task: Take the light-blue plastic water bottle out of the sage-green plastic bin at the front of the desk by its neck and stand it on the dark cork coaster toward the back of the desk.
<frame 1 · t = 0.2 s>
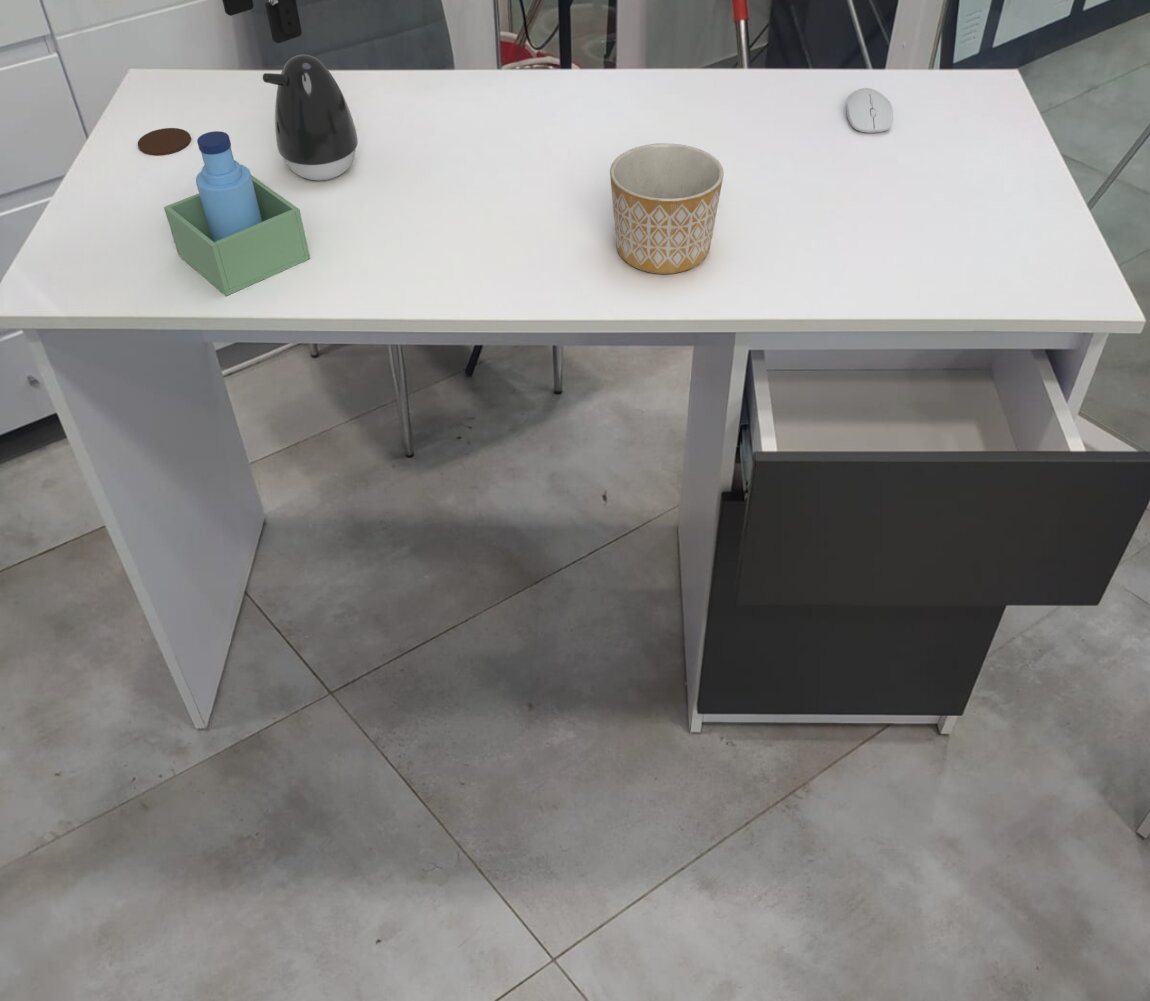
hand: (263, 25, 118), 25 cm above the table, tool pointing down, fingers open, 9 cm apart
bottle: (243, 253, 131), point 1 cm above the table, touching bin
pump dispenser: (322, 172, 146), on the table
computer mouse: (866, 120, 154), on the table
planter: (662, 252, 131), on the table
bin: (244, 257, 132), on the table
coaster: (164, 142, 152), on the table
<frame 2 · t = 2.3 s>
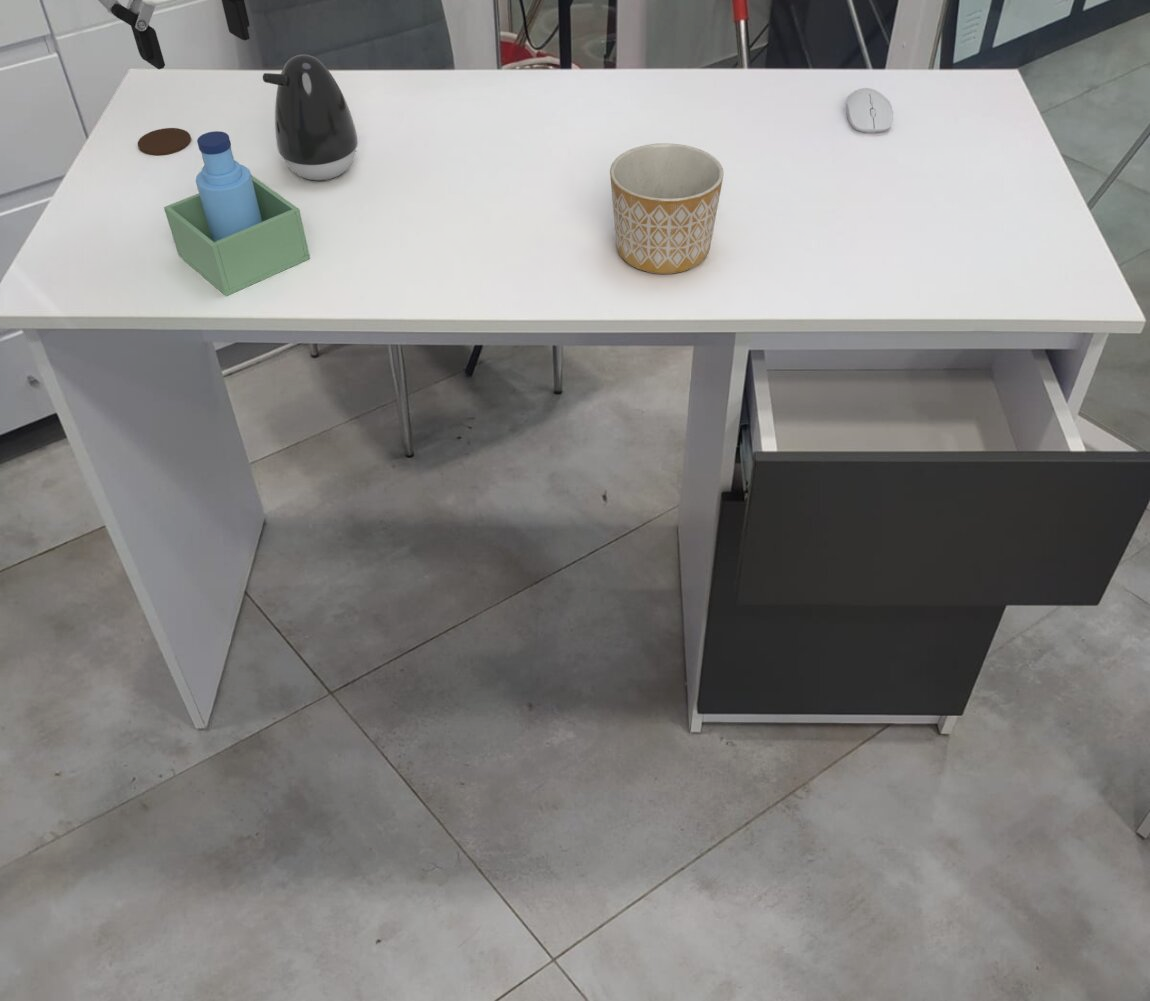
hand: (198, 50, 115), 25 cm above the table, tool pointing down, fingers open, 9 cm apart
nothing on the table moved.
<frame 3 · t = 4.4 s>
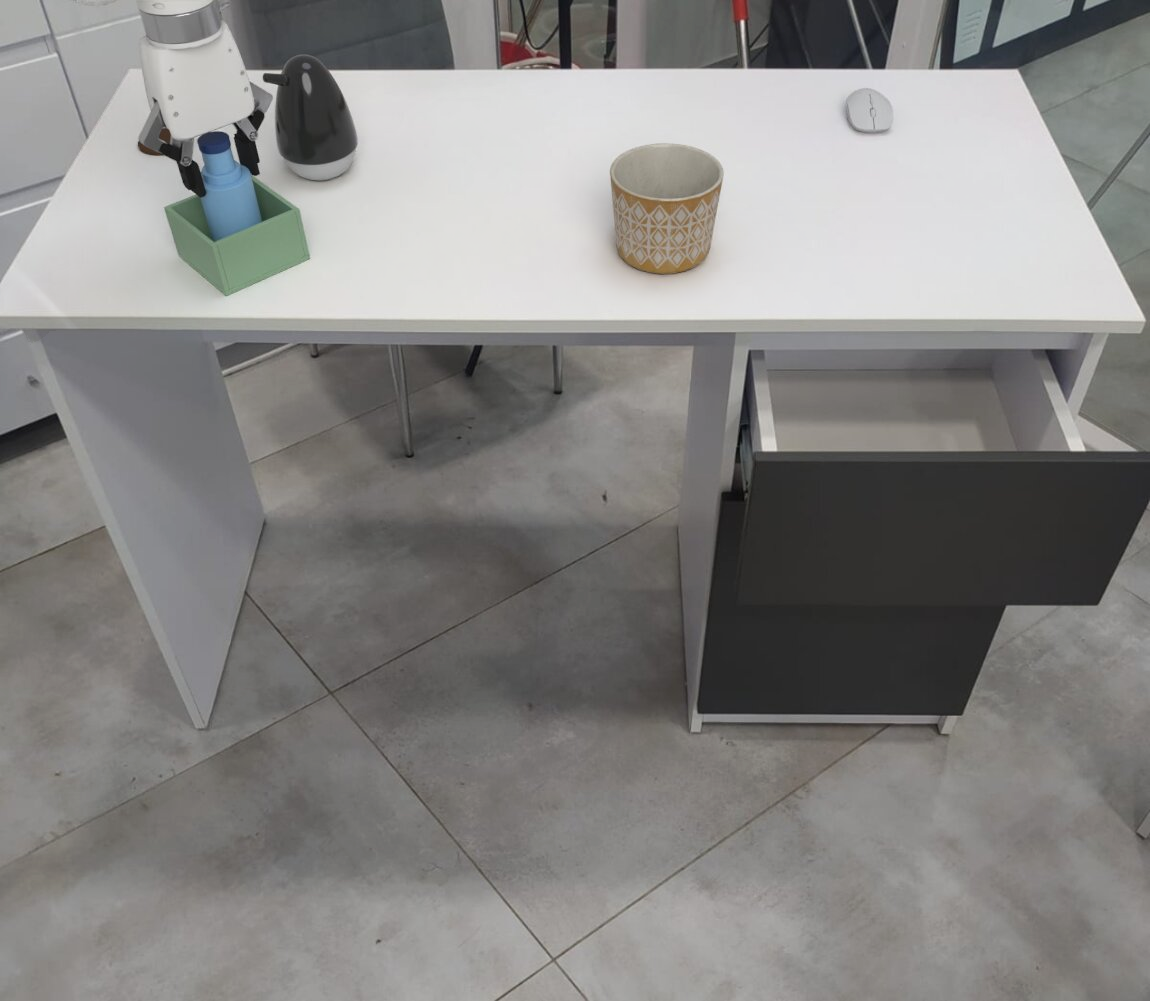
hand: (224, 180, 125), 10 cm above the table, tool pointing down, fingers closed on bottle, 6 cm apart
bottle: (243, 253, 131), point 1 cm above the table, touching bin, gripper
everything else where it was.
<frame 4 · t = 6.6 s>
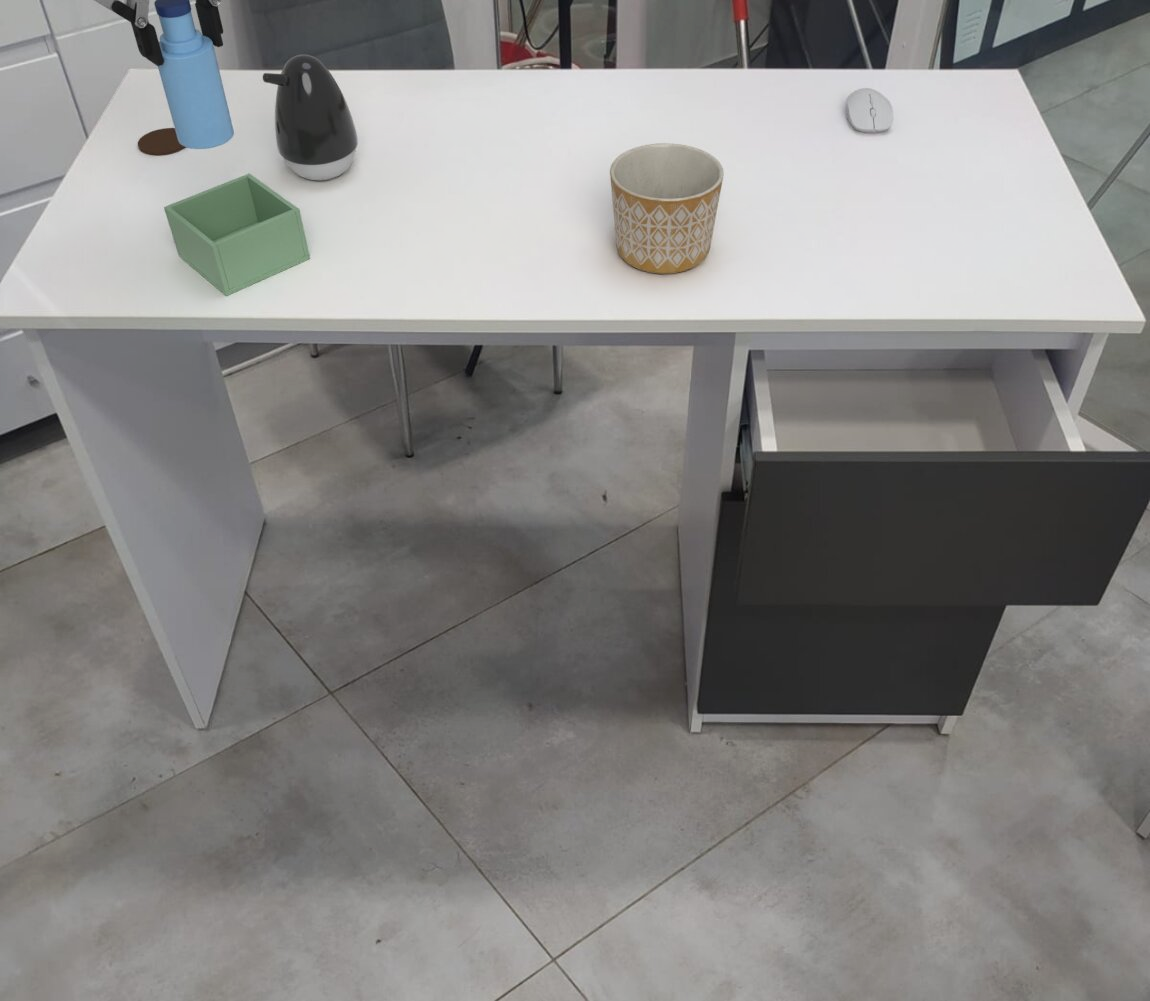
hand: (184, 50, 115), 24 cm above the table, tool pointing down, fingers closed on bottle, 6 cm apart
bottle: (206, 136, 122), point 15 cm above the table, touching gripper
everything else where it was.
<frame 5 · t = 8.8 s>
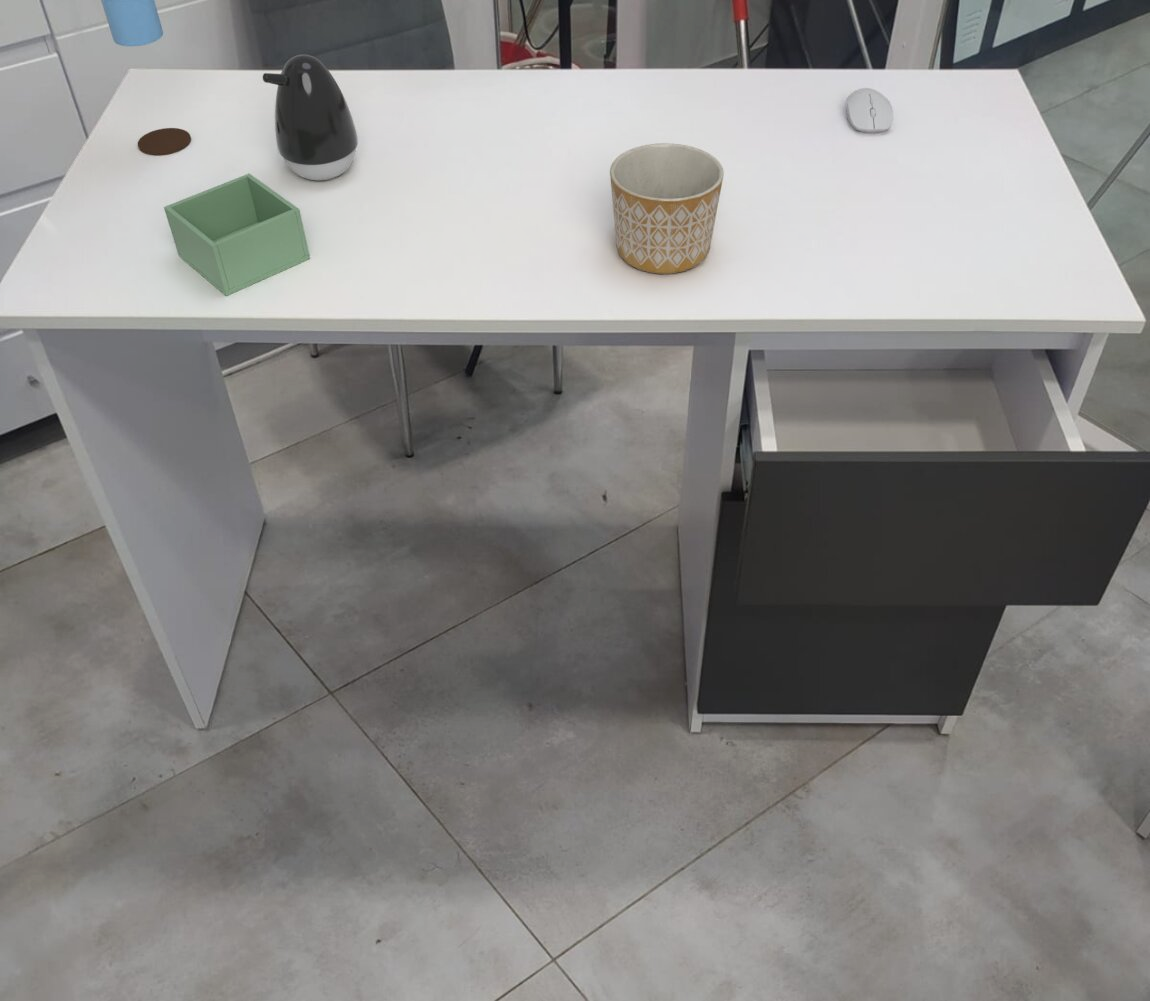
bottle: (138, 36, 138), point 16 cm above the table, touching gripper
everything else where it was.
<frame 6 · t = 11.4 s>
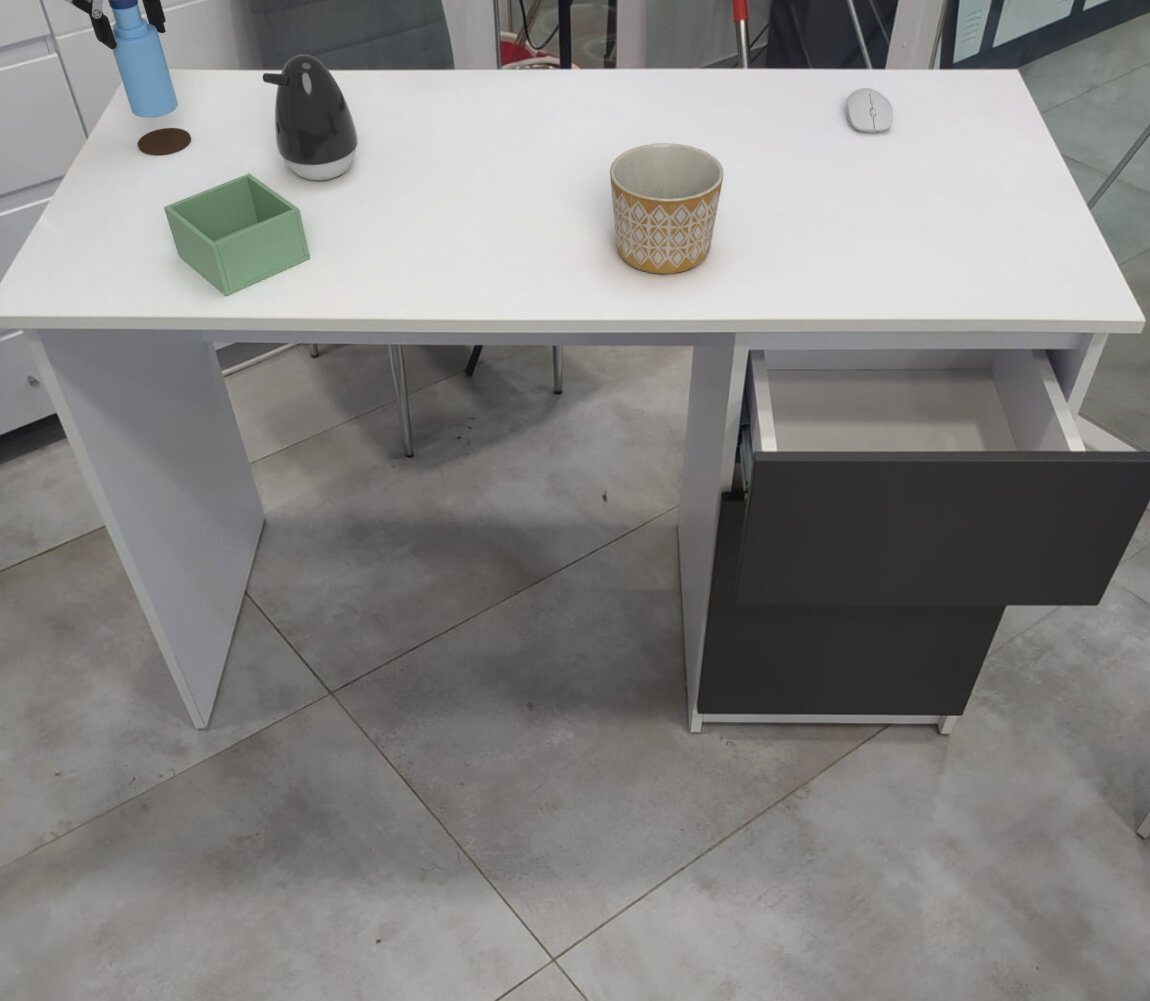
hand: (133, 36, 142), 15 cm above the table, tool pointing down, fingers closed on bottle, 6 cm apart
bottle: (154, 107, 148), point 5 cm above the table, touching gripper
everything else where it was.
when the fingers open (10 cm above the table, at t = 13.1 s): bottle stays where it is, resting on coaster.
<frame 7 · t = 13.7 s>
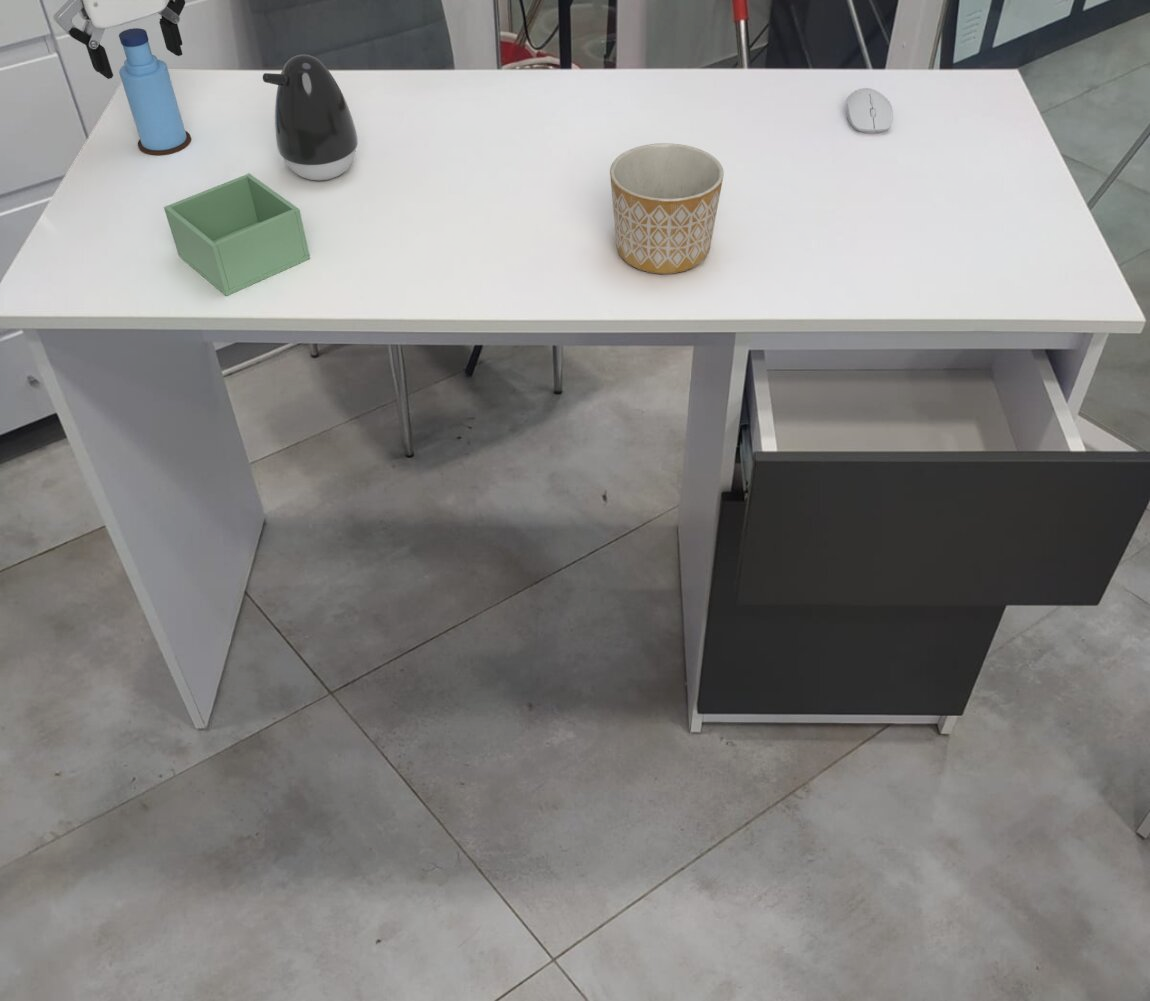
hand: (141, 63, 144), 11 cm above the table, tool pointing down, fingers open, 9 cm apart
bottle: (164, 140, 152), resting on coaster
everything else where it was.
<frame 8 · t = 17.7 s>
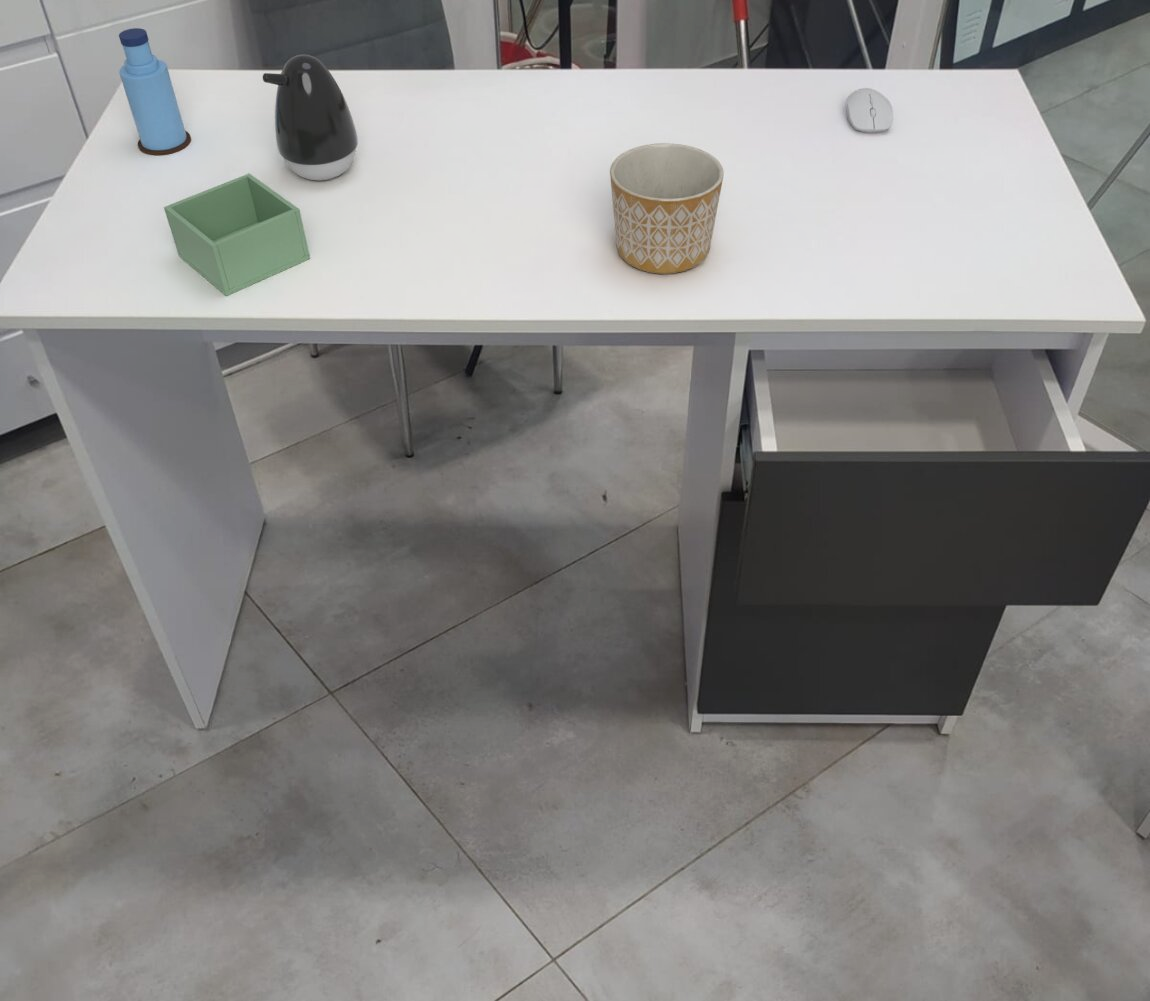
nothing on the table moved.
at the end: bottle 0.0 cm off-centre on the coaster, point 0.4 cm above the coaster's base; bottle tilted 0°; bottle touching coaster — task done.
